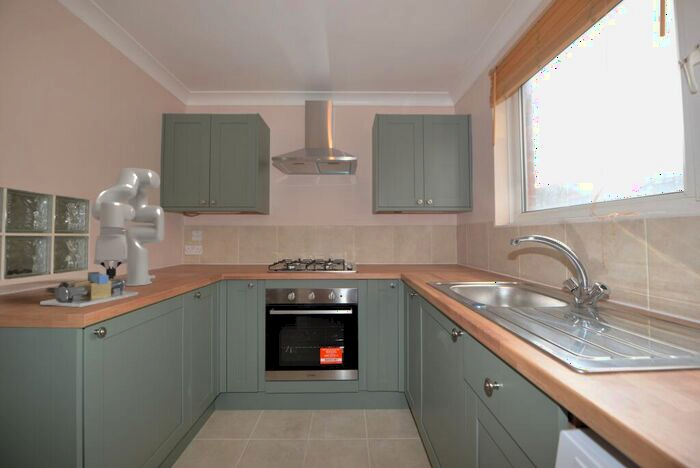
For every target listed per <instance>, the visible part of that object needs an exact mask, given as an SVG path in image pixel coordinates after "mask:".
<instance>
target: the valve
mask: <svg viewBox="0 0 700 468" xmlns="http://www.w3.org/2000/svg"><path fill="white" fill-rule="evenodd" d="M59 287H66V288H70V287H75V284H72V285H71V284H69V282H67V281H62V282H61V283H60V284H59V285H58V287H46V288H45V291H50V292H51V291H52V292H55V291H56V289H57V288H59Z"/></svg>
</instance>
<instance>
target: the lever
mask: <svg viewBox="0 0 700 468" xmlns="http://www.w3.org/2000/svg"><path fill="white" fill-rule="evenodd" d="M87 281H92V282H96V283H97V284H108V281H110V279H109V275H106V274H102V273H100V271H89V272H87Z"/></svg>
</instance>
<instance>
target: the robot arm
mask: <svg viewBox="0 0 700 468" xmlns="http://www.w3.org/2000/svg"><path fill="white" fill-rule="evenodd" d="M160 184H161V178H160V176H159V174H158V173H157V172H156V171H154V170H152V169H150V168H149V169H148V168H139V167H124V168H121V170H120V171H119V173H118V176H117V178H116V181H115V183H114V185H113V186H111V187H109V188H107V189H105V190H102V192H100V193H98V194H97V195H96V197H95V199H94V201H93V203H92V206H91V212H90V213H91V215H92V216H91V217H92V218H94V220H96V221H99V235H97V236H96V240H95V246H94V260H93V264H94V265H98V266H102V267H103V268H105V271H106V272H105V273H106V274H105V275H109V280H113V279H114V278H115V277H116V276H117V268H118V267H119V266H121V265H123V264H126V281H125V283H126V287H135V286H147V285H150V284H152V282H153V281H151V280H154V279H155V278H156V275H154V274H151V275H150V274H149V252H150V251H149V249H148V248H147V247H146V246H145V245H144V244H159V243H163V241H164V240H165V213H164V209H163V207H162V206H159V205H151V204H150V205H149V204H148V202H149V201H148V197H149V196H148V194H147V192H145V191H144V189H147V190H157V189H159V187H161V186H160ZM123 201H127V202H128V203H123ZM129 221H130V222H131V223H139V224H140V225H139V224H137V225H136V224H134V225H133V224H132V225H129V226H128V227H126V228H125V222H129ZM143 224H153V225H143ZM110 262H113V265H112V266H110Z"/></svg>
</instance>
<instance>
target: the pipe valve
mask: <svg viewBox="0 0 700 468" xmlns="http://www.w3.org/2000/svg"><path fill="white" fill-rule="evenodd" d="M125 282H126V281H125V280H124V279H123V278H117V279H115V280H109V281H108V284H97V283H96V282H92V281H88V280H86V281H85V280H84V281H79V282H75V283H74V285H75V287H70V288H66V287H59V286H58V287H59V288H58V287H56V288H57V289H56V291H54V296H53V297H54V298H53V299H47V300H46V299H45V300H42V301H40V302H39V303H40V306H53V307H56V306H57V307H72V308H73V307H74V308H82V307H87V306H91V305H97V304H102V303H106V302H109V301H115V300H120V299H124V298H128V297H133V296H138V295H139V292H138V291H128V290H127V291H125V289H126V287H127V286H126V283H125Z"/></svg>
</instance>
